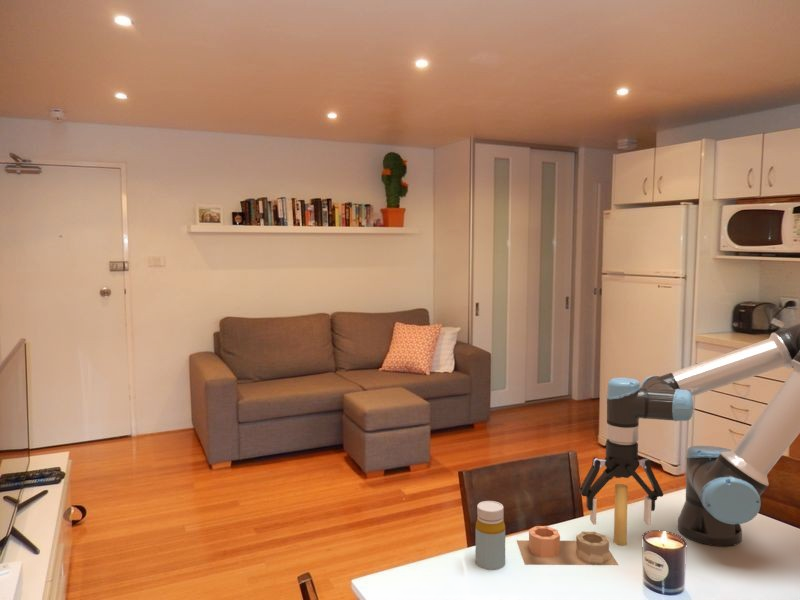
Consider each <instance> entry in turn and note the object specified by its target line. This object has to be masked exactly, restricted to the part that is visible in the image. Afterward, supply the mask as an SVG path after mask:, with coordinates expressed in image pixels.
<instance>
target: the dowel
mask: <svg viewBox="0 0 800 600" xmlns="http://www.w3.org/2000/svg"><path fill="white" fill-rule="evenodd" d="M628 491H629V490H628V485H626V484H625V483H615V484H614V517H613V519H614V521H613V524H614V525H613V544H614V545H616V546H621V547H623V546H627V544H628V543H627V541H628V540H627V537H628V534H627V533H628Z"/></svg>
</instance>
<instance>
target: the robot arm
mask: <svg viewBox="0 0 800 600" xmlns="http://www.w3.org/2000/svg"><path fill="white" fill-rule="evenodd" d="M783 367H785V368H786V369H793V371H792V372H791V373H790V374H789V376H787V379H786V380H785V381H784V383H783V384H782V385H781V386H780V388H779V389H778V390H777V392H776V393H775V394H774V396H773V397H772V398H771V399H770V400H769V402H768V404H767V405H766V406H765V407H764V409H763V410H762V411H761V412H760V414H759V415H758V416H757V417H756V419H755V420H754V421H753V423H752V424H751V425H750V427H749V428H748V429H747V431H745V433H744V434H743V436H742V437H741V439H740V440H739V441H738V442H737V443H736V445H735V446H734V447H733V449H729V448H727V447H726V448H725V447H721V446H713V445H694V446H693V445H692V446H690V447H688V449H687V451H686V456H685V460H686V461H685V462H686V465H685V466H686V468H685V469H686V471H685V472H686V474H685V501H684V504H683V505H682V508H681V511H680V514H679V516H678V517H677V519H678V520H677V529H678V531H679V533H680V534H681V535H682V536H684V537H686V538H687V539H690V540H692V541H695V542H697V543H701V544H703V545H704V544H705V545H708V546H716V547H731V546H735V545H738V544H740V543H741V542H742V539H743V537H742V536H743V530H742V527H741V525H742V524H746V523H749V522H750V521H752V520H753V519H754V518H756V516H758V514H759V512H760V509H761V495H762V494H763V493H764V492H765V490H766V489H767V487H768V486H769V485H770V484H769V479H768V474H769V473H770V471H771V470H772V469H773V467H775V465H776V464H777V462H778V461H779V460H780V458H781V457H782V456H783V455H784V454H785V452H786V451H787V450H788V449H789V447H790V446H791V445H792V443H793V442H794V441H795V439H796V438H797V437H798V436H799V435H800V322H799V323H796V324H793V325H791V326H788V327H786V328H781V329H780V330H777V331H774V332H771V333H770V336H769V338H767V339H764V340H761V341H759V342H755V343H753V344H749V345H747V346H744V347H741V348H738V349H736V350H733V351H730V352H727V353H724V354H721V355H718V356H715V357H711V358H709V359H707V360H704V361H701V362H698V363H695V364H692V365H690V366H687V367H686V366H685V367H684V368H681V369H679V370H675V371H672V372H669V373H665V374H663V375H649V376H647V377H645V378H644V380H642V382H641V384H640V381H639V380H638V379H635V378H630V377H613V378H612V379H609V381H608V383H607V395H606V431H605V432H606V436H605V437H606V439H607V440H606V442H605V458H604V459H599V458H597V457H593V458H592V462H591V467H590V469H588V472H587V474H586V476H585V478H584V480H583V482H582V483H581V485H580V487H579V490H578V491H579V493H580V495H581V496H582V497H586V509H587V510H588V511H589V520H590V522H591V524H592V525H593V526H594V525H595V526H596V525H597V501H598V499H597V498H596V496H597V494H598V493H599V492H600V491H601V490H602V489H603V488H604V487H605V486H606V485H607V484H608V482H609V481H611V480H612V479H613V478H614V477H615V478H616V479H621V478H625V479H629V478H630V477H632V478H633V479H635V481H636V483H638V485H639V486H640V488H642V489H643V491H644V492H645V493H646V494H647V495H646V494H645V495H643V496H644V499H643V502H644V503H643V506H644V507H643V521H644V522H645V523H646V525H648V526H651V525H652V512H654V511H655V510H656V501H657V500H658V498H659V497H661V498H662V497H663V496H664V492H663V490H662V488H661V486H660V484H659V482H658V480H657V478H656V476H655V474H654V471H653V469H652V462H651V460H649V459H648V458H647V457H643V458H642V459H638V458H639V443H638V442H639V423H640V422H639V421H640V419H643V420H645V419H646V420H647V419H648V420H659V421H660V420H661V421H662V420H663V421H674V422H679V421H681V422H682V421H683V422H685V421H687V422H688V421H689V420H691V419H692V417H693V414H694V400H693V397H695V396H698V395H701V394H704V393H708V392H710V391H713V390H716V389H718V388H722V387H725V386H728V385H731V384H734V383H738V382H741V381H743V380H747V379H749V378H752V377H755V376H759V375H762V374H766V373H768V372H771V371H774V370H777V369H780V368H783ZM603 466H605V467H606V468H605V469H604V470H603V471H602V474H601V475H600V476H599V477H598V478H597V476H598V474H599V471H600V469H602V468H603ZM639 467H641V468H642V469H643V470H644V472H645V474H646V477H647V479H648V480H649V482H650V484H651V486H652V489H653V490H652V489H651V488H650V487H649V485H648V484H647V483H646V482H645V481H644V480H643V479H642V477H640V475H639V474H638V473H637V469H638V468H639ZM596 478H597V479H596ZM594 481H595V482H594Z"/></svg>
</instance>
